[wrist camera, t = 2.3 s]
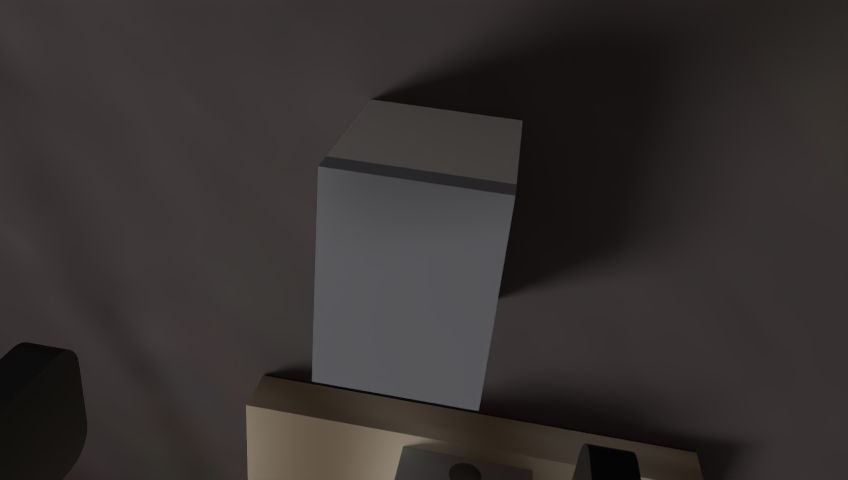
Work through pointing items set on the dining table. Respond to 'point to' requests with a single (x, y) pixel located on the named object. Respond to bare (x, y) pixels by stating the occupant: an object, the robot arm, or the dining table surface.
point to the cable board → (417, 441)
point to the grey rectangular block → (412, 251)
